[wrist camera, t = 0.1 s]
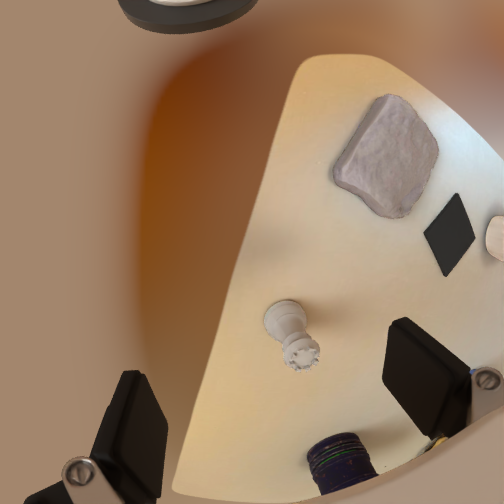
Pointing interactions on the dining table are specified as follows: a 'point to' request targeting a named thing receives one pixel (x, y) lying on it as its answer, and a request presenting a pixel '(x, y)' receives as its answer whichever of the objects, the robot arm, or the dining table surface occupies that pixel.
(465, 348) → the dining table surface
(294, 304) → the rook chess piece
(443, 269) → the mat
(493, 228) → the cup
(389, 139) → the stone block
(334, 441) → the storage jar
